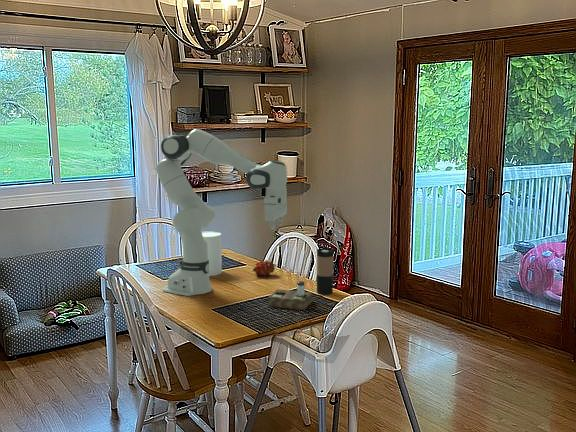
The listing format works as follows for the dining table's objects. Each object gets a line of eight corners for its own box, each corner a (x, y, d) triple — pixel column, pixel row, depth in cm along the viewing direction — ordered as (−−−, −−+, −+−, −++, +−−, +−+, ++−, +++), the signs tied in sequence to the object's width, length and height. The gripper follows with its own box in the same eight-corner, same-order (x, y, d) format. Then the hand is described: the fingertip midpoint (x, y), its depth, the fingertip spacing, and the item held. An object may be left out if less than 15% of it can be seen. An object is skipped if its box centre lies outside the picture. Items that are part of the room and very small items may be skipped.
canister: (190, 274, 306) (189, 235, 303) (203, 267, 319) (202, 230, 315) (213, 277, 301) (212, 237, 298) (226, 270, 314) (225, 232, 310)
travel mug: (324, 289, 282) (324, 247, 278) (336, 292, 276) (337, 250, 273) (312, 292, 276) (313, 249, 273) (325, 296, 271) (325, 252, 268)
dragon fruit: (277, 277, 306) (254, 283, 302) (270, 265, 312) (248, 270, 307) (278, 267, 300) (256, 273, 296) (272, 254, 305) (250, 260, 301)
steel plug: (296, 305, 258) (296, 283, 256) (298, 303, 261) (298, 281, 259) (303, 306, 257) (303, 283, 255) (305, 304, 260) (305, 281, 258)
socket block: (268, 306, 257) (268, 296, 257) (277, 297, 269) (277, 288, 268) (304, 310, 253) (304, 300, 252) (312, 301, 264) (312, 291, 263)
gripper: (277, 193, 282) (277, 222, 284) (262, 199, 263) (261, 231, 265) (290, 194, 280) (290, 223, 282) (275, 200, 261) (275, 232, 263)
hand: (276, 227), depth 274 cm, fingers open, 8 cm apart
